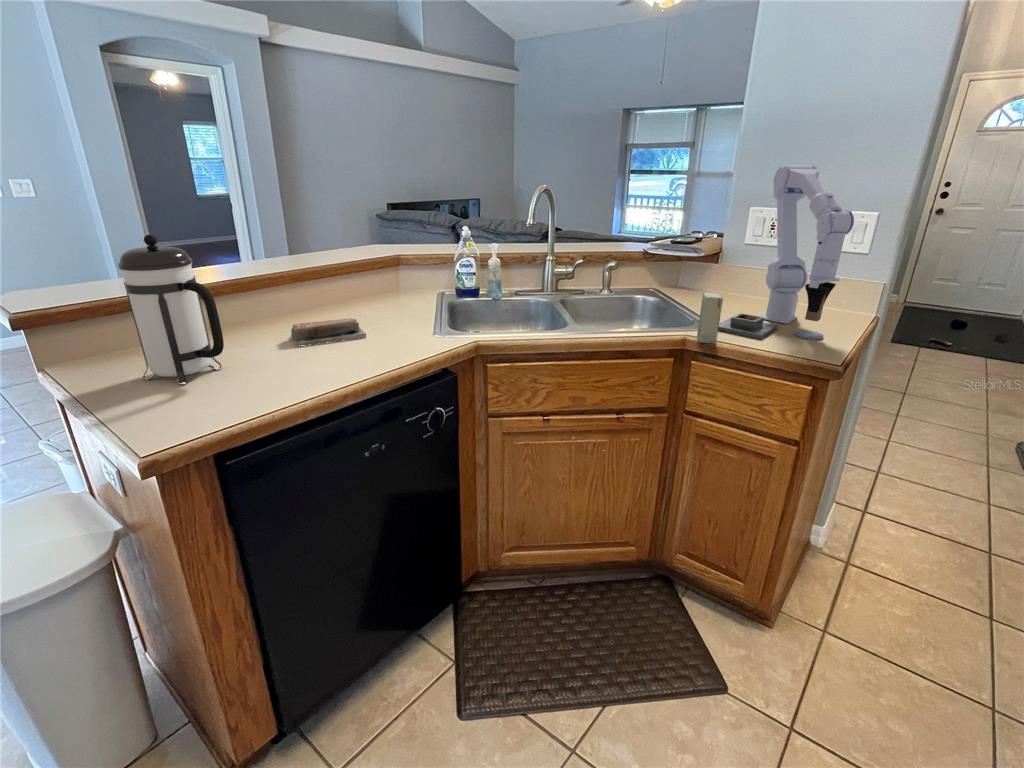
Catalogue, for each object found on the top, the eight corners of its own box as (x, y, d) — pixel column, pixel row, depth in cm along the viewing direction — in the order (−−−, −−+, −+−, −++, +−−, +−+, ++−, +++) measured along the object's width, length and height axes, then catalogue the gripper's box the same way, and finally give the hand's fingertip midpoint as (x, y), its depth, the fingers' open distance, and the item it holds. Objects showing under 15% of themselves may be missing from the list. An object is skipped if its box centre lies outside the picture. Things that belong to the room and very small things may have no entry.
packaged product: (293, 331, 133) (288, 321, 141) (296, 349, 134) (291, 338, 143) (365, 321, 140) (356, 313, 149) (367, 339, 142) (358, 329, 150)
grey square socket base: (732, 320, 160) (734, 309, 158) (777, 329, 152) (779, 317, 150) (713, 329, 151) (715, 317, 150) (760, 339, 143) (763, 326, 141)
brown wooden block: (808, 317, 146) (813, 292, 143) (820, 319, 144) (826, 293, 141) (804, 319, 144) (810, 293, 141) (816, 321, 142) (822, 295, 139)
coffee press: (136, 393, 107) (92, 242, 96) (150, 367, 121) (113, 231, 109) (232, 381, 114) (201, 237, 102) (235, 357, 127) (208, 228, 115)
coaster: (799, 330, 150) (799, 328, 150) (826, 336, 146) (826, 333, 146) (791, 336, 146) (791, 334, 145) (818, 341, 141) (819, 339, 141)
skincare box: (716, 344, 139) (724, 298, 134) (699, 343, 140) (706, 297, 135) (713, 336, 145) (720, 292, 140) (696, 335, 146) (702, 291, 141)
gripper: (836, 264, 130) (823, 318, 136) (850, 258, 140) (838, 308, 145) (805, 261, 135) (794, 313, 140) (821, 255, 145) (810, 303, 150)
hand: (814, 310), depth 143 cm, fingers closed on brown wooden block, 3 cm apart
